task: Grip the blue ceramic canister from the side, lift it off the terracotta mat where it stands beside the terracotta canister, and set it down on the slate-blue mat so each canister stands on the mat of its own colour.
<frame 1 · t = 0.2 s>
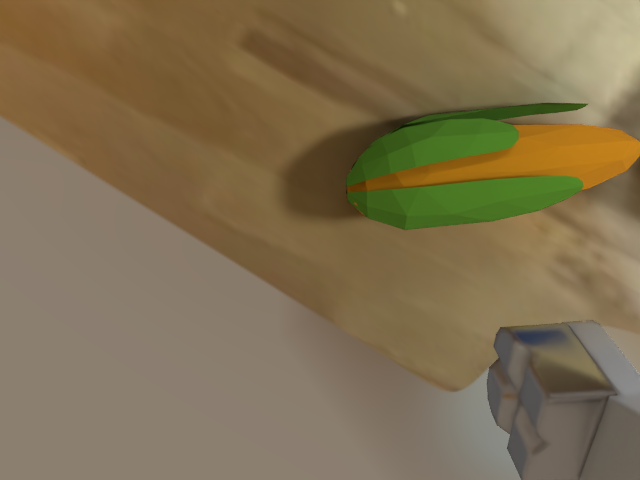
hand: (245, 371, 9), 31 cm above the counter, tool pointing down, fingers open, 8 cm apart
corn: (477, 142, 42), on the counter
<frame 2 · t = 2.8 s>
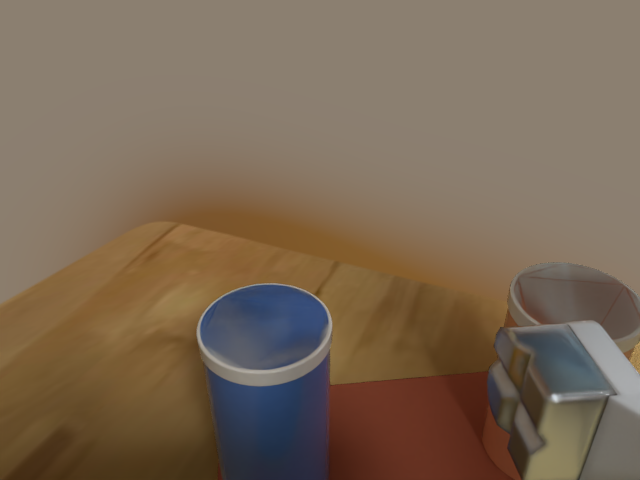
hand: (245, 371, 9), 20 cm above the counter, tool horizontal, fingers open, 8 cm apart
terracotta mat: (407, 460, 31), on the counter
terracotta canister: (534, 443, 32), resting on terracotta mat
blue canister: (275, 469, 30), resting on terracotta mat
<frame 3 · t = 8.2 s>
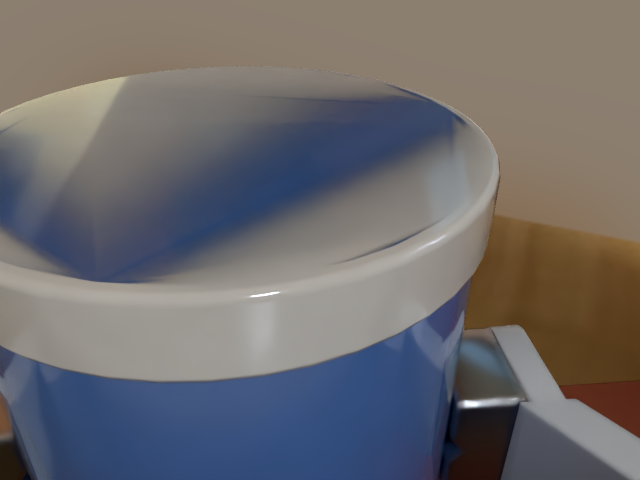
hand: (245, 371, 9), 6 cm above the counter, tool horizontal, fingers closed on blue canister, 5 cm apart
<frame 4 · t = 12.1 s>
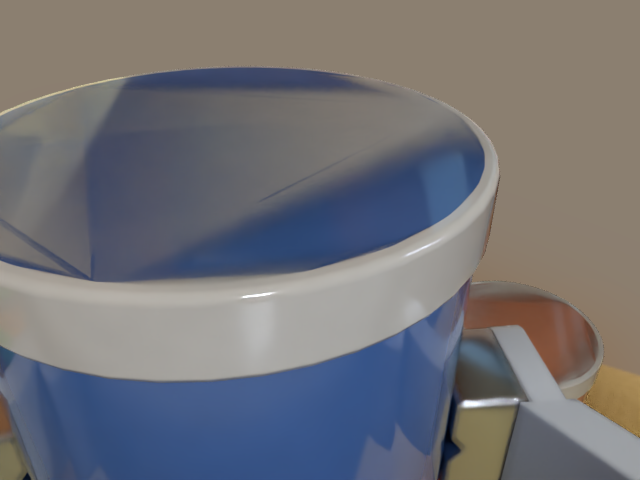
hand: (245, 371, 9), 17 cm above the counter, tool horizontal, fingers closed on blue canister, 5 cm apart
when the fingers open (6 cm above the counter, at t = 16.0 s): blue canister stays where it is, resting on blue mat.
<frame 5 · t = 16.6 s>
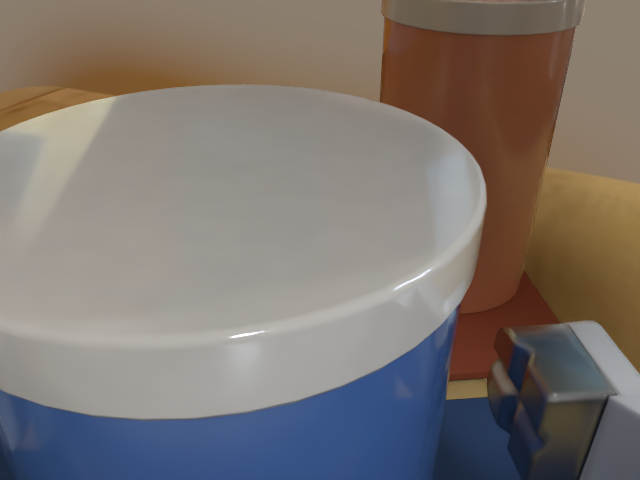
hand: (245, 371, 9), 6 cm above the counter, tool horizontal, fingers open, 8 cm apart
terracotta mat: (260, 284, 22), on the counter
terracotta canister: (444, 268, 22), resting on terracotta mat
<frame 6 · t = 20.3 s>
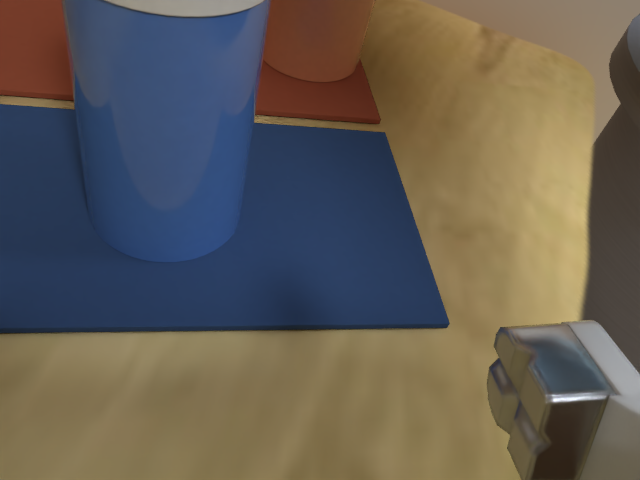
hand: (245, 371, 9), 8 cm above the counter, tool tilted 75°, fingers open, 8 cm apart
terracotta mat: (174, 44, 30), on the counter
terracotta canister: (307, 53, 32), resting on terracotta mat
blue canister: (167, 206, 22), resting on blue mat
blue mat: (168, 210, 22), on the counter
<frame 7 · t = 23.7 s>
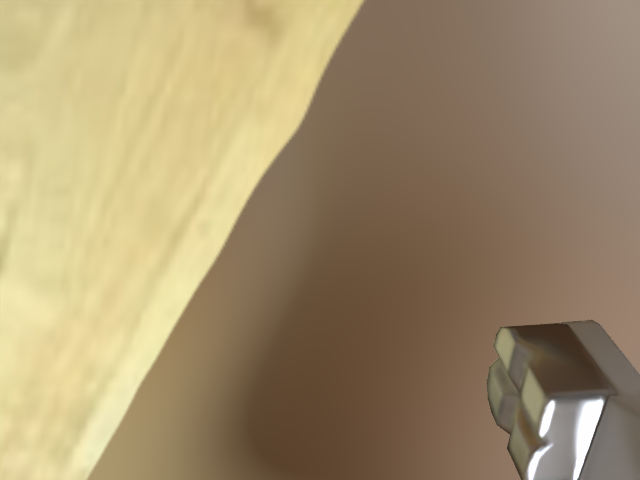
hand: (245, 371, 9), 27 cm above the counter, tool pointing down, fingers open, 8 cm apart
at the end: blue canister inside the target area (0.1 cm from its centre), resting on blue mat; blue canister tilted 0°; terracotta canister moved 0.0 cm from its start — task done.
